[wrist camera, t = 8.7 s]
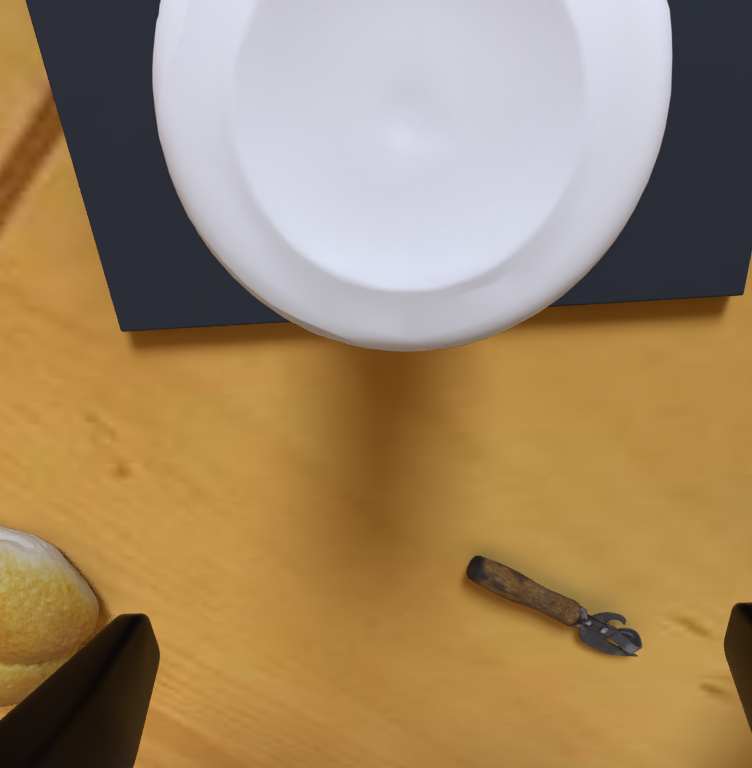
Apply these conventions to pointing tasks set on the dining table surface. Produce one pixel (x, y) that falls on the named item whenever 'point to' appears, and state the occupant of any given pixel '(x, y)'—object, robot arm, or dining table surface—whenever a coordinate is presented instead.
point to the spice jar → (410, 152)
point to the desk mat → (238, 307)
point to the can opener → (555, 606)
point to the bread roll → (38, 613)
